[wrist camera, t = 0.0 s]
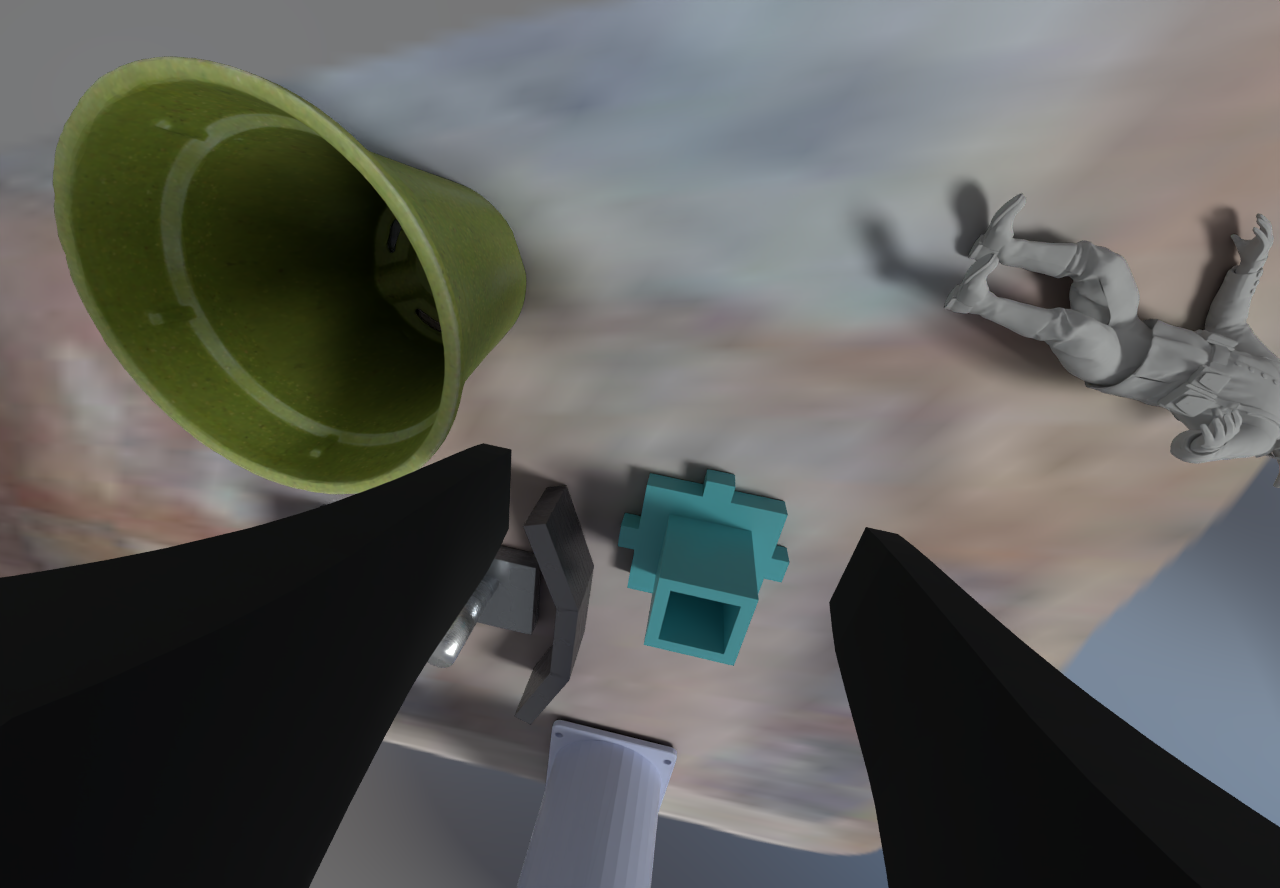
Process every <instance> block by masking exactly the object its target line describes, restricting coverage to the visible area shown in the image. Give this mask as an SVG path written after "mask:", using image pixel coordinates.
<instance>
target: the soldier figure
mask: <svg viewBox="0 0 1280 888" xmlns="http://www.w3.org/2000/svg"><path fill="white" fill-rule="evenodd" d="M1025 203H1026V198H1025V197H1024V196H1023V193H1022V194H1019V195H1017V196H1015V197H1013V198H1012V199H1011V200H1009V201H1008V202H1007V203H1006V204H1004V205H1003V206H1002V207H1001V208H1000V209H999V210H998V211H997V212H996V214H995V215H994V217H993V218H992V220H991V224H990V226H989V228H988V229H987V231H986V233H985V235H981V236H980V237H979V238H978V239H977V241H976V242H975V244H974V245H973V247H972V249H971V251H970V253H969V257H968V258H971V259H975V260H977V261H976V262H975V263H974V264H973V265H972V266H971V267H970V268H969V270H968V271H967V273H966V275H965V277H964V280H963V282H962V283H961V285H957V286H956V287H955V288H954V289H953V290H952V291H951V293H950V294H949V296H948V298H947V300H946V302H945V305H944V309H948V310H951V311H953V312H958V313H970V314H979V315H981V316H982V317H983V318H986V319H989V320H991V321H993V322H995V323H997V324H1000V325H1002V326H1004V327H1006V328H1008V329H1010V330H1012V331H1014V332H1016V333H1018V334H1020V335H1022V336H1024V337H1029V338H1033V339H1036V340H1040V341H1045V342H1046V343H1047V344H1048V345H1050V348H1051V350H1052V352H1053V353H1054V354H1055V355H1056V356H1057V357H1058V360H1059V361H1060V363H1061V364H1062V366H1063V367H1064V368H1065V369H1066V370H1067V371H1068V372H1070V373H1071V374H1072V375H1074V376H1076V377H1078V378H1079V379H1081V380H1084V381H1085V385H1086V387H1088V388H1092V389H1096V390H1098V391H1100V392H1103V393H1107V394H1112V395H1116V396H1120V397H1126V398H1130V399H1134V400H1138V401H1141V402H1143V403H1145V404H1148V405H1153V406H1160V407H1164V408H1166V409H1168V410H1169V411H1170V412H1171V413H1172V414H1173V415H1174V417H1175V418H1176V419H1177V420H1179V421H1180V422H1182V423H1183V424H1184V425H1185V426H1186V427H1187V428H1188V429H1189V430H1188V431H1184V432H1182V433H1180V434H1179V435H1177V436H1176V437H1175V438H1174V439H1173V441H1172V443H1171V446H1170V447H1171V450H1170V452H1171V454H1172V455H1173V456H1175V457H1176V458H1178V459H1180V460H1182V461H1185V462H1189V463H1204V462H1208V461H1216V460H1228V459H1234V458H1246V457H1252V456H1255V457H1256V458H1257V457H1261V456H1264V455H1266V456H1269V457H1271V458H1274V459H1277V461H1278V464H1279V468H1280V360H1279V358H1278V357H1277V356H1276V355H1275V354H1274V353H1273V352H1271V351H1270V350H1269V349H1268V348H1267V347H1266V346H1265V345H1264V344H1263V343H1262V342H1261V341H1260V340H1259V339H1258V337H1257V336H1256V335H1255V334H1254V332H1253V330H1252V329H1251V328H1250V326H1249V324H1247V323H1246V319H1247V317H1248V312H1249V307H1250V302H1251V298H1252V295H1253V294H1254V293H1255V289H1256V286H1257V285H1258V284H1259V279H1260V277H1261V276H1262V274H1263V273H1262V272H1263V268H1262V267H1263V265H1264V263H1265V261H1266V259H1267V257H1268V251H1269V249H1270V247H1271V246H1272V244H1273V239H1274V238H1273V235H1272V226H1271V223H1270V221H1269V220H1268V219H1267V218H1266V217H1265V216H1263V215H1262V214H1257V215H1256V218H1257V221H1256V222H1257V224H1258V225H1259V226H1260V230H1259V229H1258V228H1255V227H1254V228H1253V232H1254V234H1255V235H1256V237H1254V238H1253V239H1252V240H1244V239H1241V238H1240V237H1239V236H1238V235H1236V234H1233V235H1231V238H1232V239H1233V241H1234V243H1235V245H1236V247H1237V250H1238V253H1239V255H1240V258H1241V263H1240V265H1237V266H1233V267H1232V268H1231V269H1230V270H1229V271H1228V272H1227V275H1226V277H1225V278H1224V279H1225V280H1224V281H1223V283H1222V285H1221V287H1220V289H1219V291H1218V293H1217V294H1216V296H1215V298H1214V299H1213V301H1212V303H1211V306H1210V309H1209V312H1208V314H1207V318H1206V321H1205V323H1206V324H1205V330H1203V331H1202V330H1200V329H1199V330H1196V331H1192V330H1188V329H1185V328H1182V327H1177V326H1172V325H1170V324H1167V323H1165V322H1163V321H1161V320H1158V319H1148V320H1143V321H1141V320H1140V319H1139V318H1138V316H1137V308H1138V304H1139V291H1138V288H1137V286H1136V283H1135V281H1134V278H1133V276H1132V273H1131V271H1130V268H1129V266H1128V264H1127V262H1126V260H1125V259H1124V258H1123V257H1122V256H1121V255H1119V254H1117V253H1114V252H1112V251H1111V250H1109V249H1108V248H1106V247H1102V246H1096V245H1094V244H1093V243H1091V242H1089V241H1080V242H1078V243H1076V244H1075V243H1046V242H1038V241H1028V240H1025V239H1015V238H1013V236H1014V232H1013V228H1012V226H1013V220H1014V217H1015V215H1016V214H1017V213H1018V212H1019V211H1020V210H1021V209H1022V208H1023V207H1024V205H1025ZM998 263H1001V264H1003V265H1007V266H1012V267H1021V268H1023V269H1026V270H1029V271H1033V272H1038V273H1042V274H1046V275H1049V276H1053V277H1055V278H1061V277H1064V276H1069V277H1070V278H1072V279H1073V283H1072V284H1071V288H1070V293H1069V298H1070V307H1071V309H1064V308H1060V307H1058V308H1053V309H1045V308H1041V307H1037V306H1033V305H1030V304H1026V303H1021V302H1017V301H1014V300H1011V299H1007V298H1001V297H997V296H996V295H995V294H994V293H992V292H990V291H989V287H988V285H987V281H986V278H987V276H988V274H989V273H991V272H992V271H993V270H994V269H995V268H996V266H997V264H998ZM1271 452H1273V454H1274V456H1275V457H1274V456H1273V455H1272V454H1271ZM1273 486H1274V487H1276V488H1280V469H1279V474H1278V477H1277V479H1276V481H1275V483H1274V485H1273Z"/></svg>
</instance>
